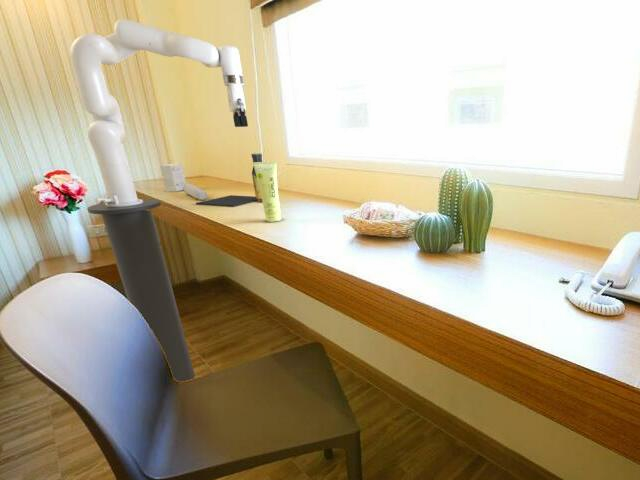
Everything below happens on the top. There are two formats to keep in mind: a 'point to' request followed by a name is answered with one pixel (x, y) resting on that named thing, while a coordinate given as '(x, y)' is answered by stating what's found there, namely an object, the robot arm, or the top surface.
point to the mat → (229, 201)
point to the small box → (173, 177)
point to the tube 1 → (194, 192)
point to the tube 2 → (268, 189)
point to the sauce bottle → (256, 158)
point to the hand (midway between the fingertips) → (241, 126)
